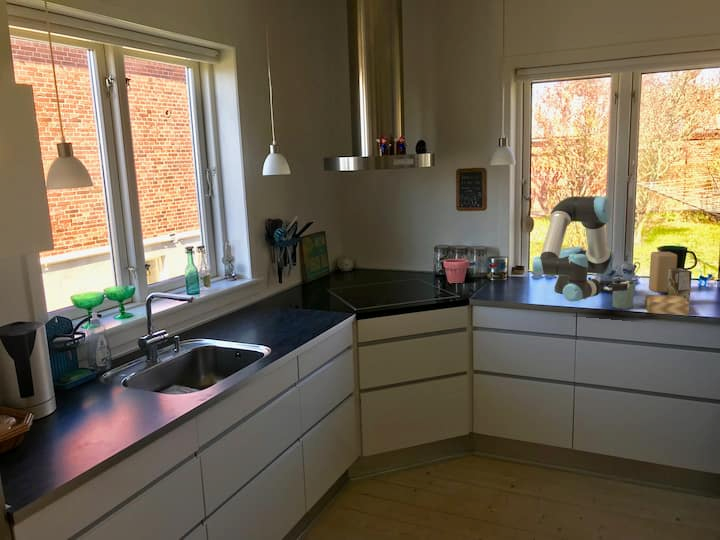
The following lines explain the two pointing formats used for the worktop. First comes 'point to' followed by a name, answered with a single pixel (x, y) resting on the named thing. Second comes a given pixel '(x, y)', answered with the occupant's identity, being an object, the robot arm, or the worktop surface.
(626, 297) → the green ceramic cup
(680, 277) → the coffee box
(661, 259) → the wooden block
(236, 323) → the worktop surface
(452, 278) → the plant pot
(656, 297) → the wooden box
